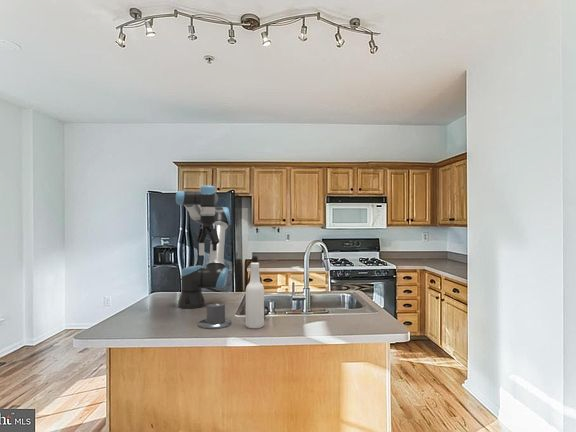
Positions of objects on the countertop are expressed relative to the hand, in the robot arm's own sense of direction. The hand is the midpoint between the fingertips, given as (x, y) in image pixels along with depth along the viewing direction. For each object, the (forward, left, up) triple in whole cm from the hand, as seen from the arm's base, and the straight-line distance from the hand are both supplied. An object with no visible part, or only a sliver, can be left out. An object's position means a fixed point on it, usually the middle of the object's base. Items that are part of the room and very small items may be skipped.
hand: (207, 256), depth 191 cm
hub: (+14, -3, -32) cm, 35 cm away
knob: (+15, -3, -31) cm, 34 cm away
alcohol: (+29, +10, -32) cm, 44 cm away
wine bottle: (-2, +31, -32) cm, 45 cm away
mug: (+20, +18, -32) cm, 42 cm away
